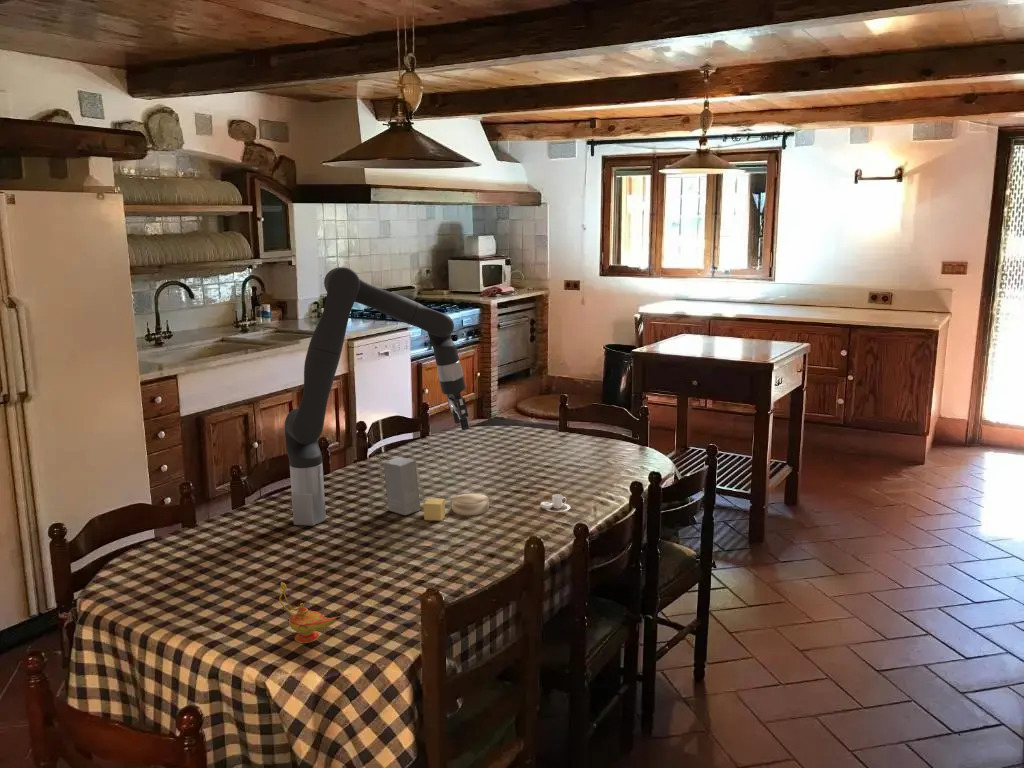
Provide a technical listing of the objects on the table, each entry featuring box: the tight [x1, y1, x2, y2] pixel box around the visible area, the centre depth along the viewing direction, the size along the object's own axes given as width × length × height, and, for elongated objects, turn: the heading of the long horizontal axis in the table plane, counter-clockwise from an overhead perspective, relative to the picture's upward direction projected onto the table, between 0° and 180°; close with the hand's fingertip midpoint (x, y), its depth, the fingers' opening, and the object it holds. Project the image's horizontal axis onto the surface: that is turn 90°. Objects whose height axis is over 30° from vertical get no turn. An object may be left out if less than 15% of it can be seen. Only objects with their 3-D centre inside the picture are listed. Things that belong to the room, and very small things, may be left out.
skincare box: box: [382, 456, 421, 516], centre depth 246 cm, size 8×7×16 cm
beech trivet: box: [451, 493, 490, 516], centre depth 248 cm, size 11×11×3 cm
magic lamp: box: [278, 581, 345, 644], centre depth 171 cm, size 7×18×11 cm, turn 60°
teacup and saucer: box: [539, 493, 571, 513], centre depth 248 cm, size 9×8×4 cm
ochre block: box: [423, 497, 446, 522], centre depth 241 cm, size 5×5×5 cm
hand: (461, 426), depth 254 cm, fingers open, 8 cm apart
